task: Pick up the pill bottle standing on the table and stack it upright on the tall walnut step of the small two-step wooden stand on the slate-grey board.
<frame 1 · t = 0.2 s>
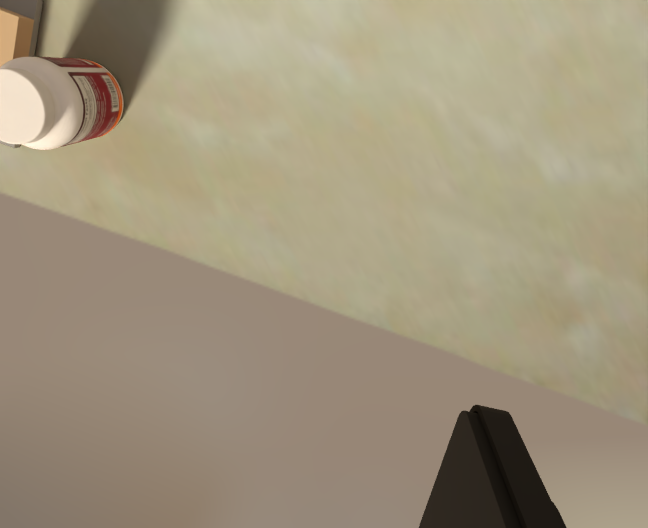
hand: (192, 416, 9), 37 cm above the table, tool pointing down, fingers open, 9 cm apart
pill bottle: (90, 99, 44), on the table
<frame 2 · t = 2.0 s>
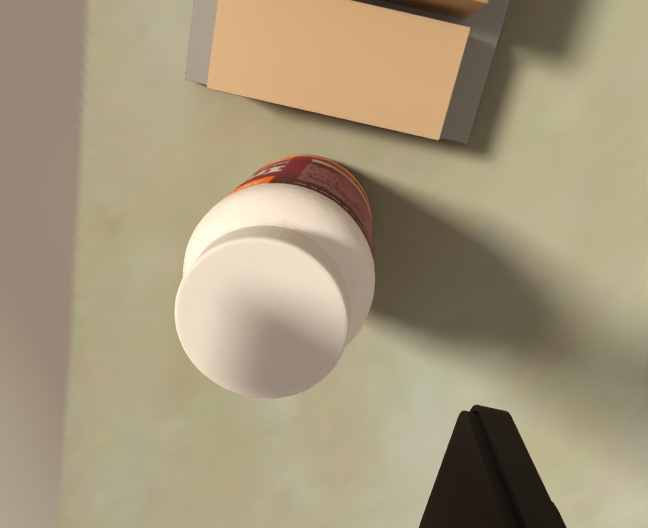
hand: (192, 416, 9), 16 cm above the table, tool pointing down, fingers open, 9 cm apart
pill bottle: (305, 219, 24), on the table
stand: (342, 36, 22), on the table
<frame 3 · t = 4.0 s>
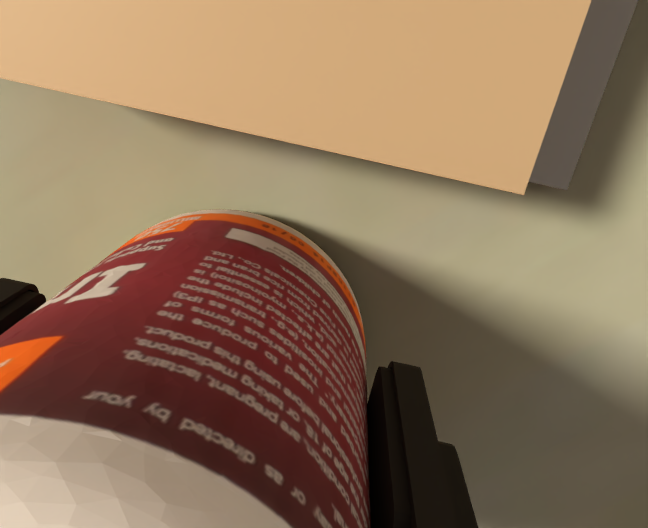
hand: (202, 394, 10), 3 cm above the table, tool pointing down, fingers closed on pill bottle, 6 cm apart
pill bottle: (234, 327, 13), on the table, touching gripper
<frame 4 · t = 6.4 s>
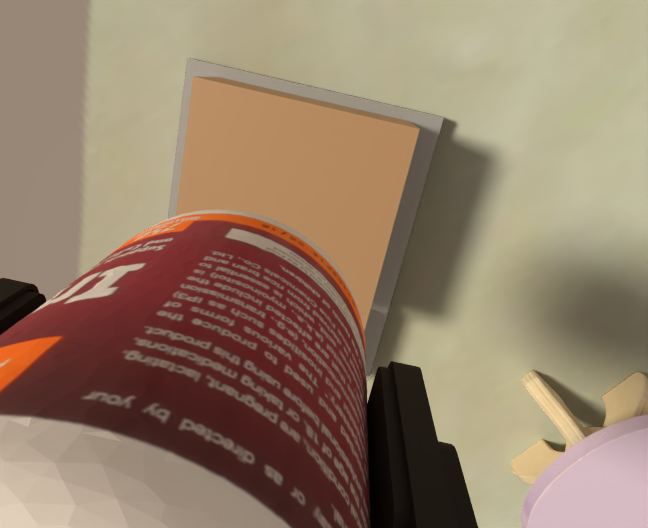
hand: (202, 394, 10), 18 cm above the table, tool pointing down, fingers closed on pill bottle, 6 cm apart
toy table: (570, 421, 30), on the table
pill bottle: (234, 327, 13), point 15 cm above the table, touching gripper
stand: (274, 297, 28), on the table
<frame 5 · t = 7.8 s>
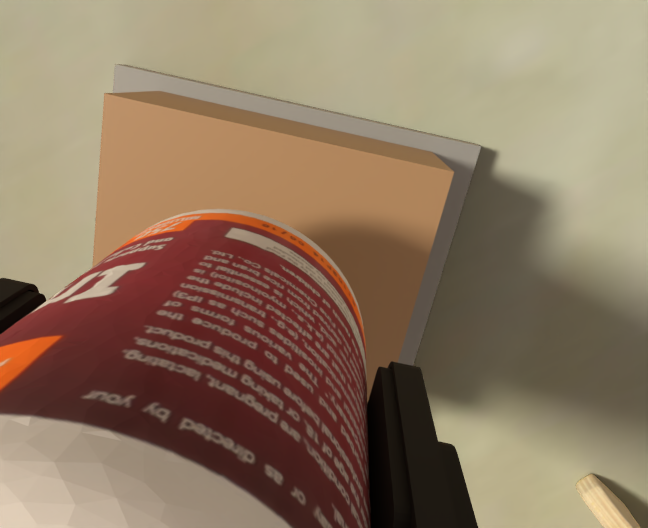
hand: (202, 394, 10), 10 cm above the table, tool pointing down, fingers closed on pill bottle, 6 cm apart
pill bottle: (234, 327, 13), point 7 cm above the table, touching gripper
stand: (248, 382, 21), on the table
when the fingers open (8 cm above the table, at t = 9.0 s): pill bottle stays where it is, resting on stand.
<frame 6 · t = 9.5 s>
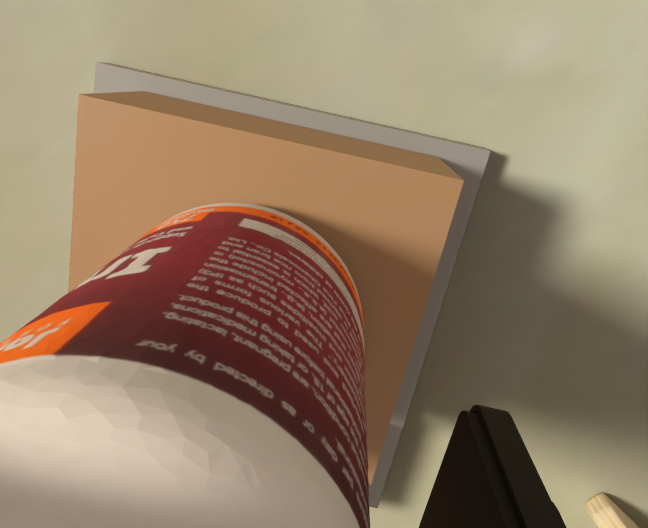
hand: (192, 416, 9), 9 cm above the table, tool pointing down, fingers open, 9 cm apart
pill bottle: (243, 312, 14), point 5 cm above the table, touching stand
stand: (242, 399, 20), on the table
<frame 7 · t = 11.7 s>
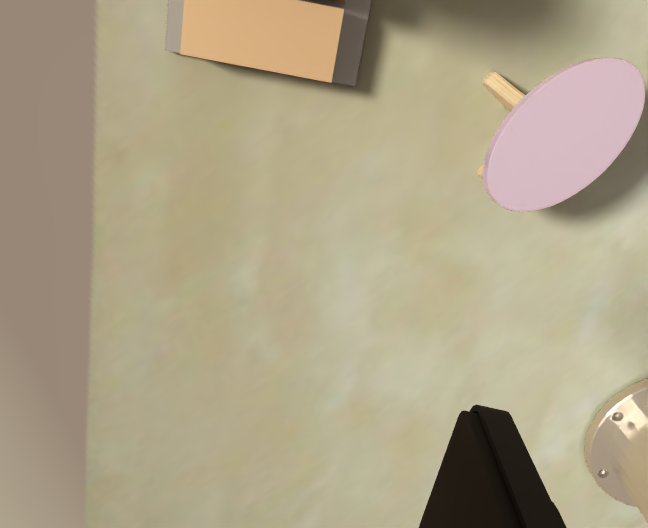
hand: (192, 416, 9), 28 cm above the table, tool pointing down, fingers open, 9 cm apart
toy table: (527, 126, 35), on the table
stand: (269, 17, 33), on the table
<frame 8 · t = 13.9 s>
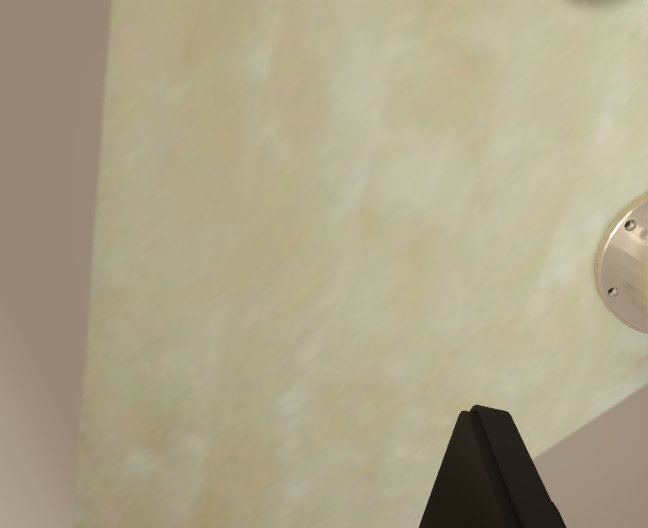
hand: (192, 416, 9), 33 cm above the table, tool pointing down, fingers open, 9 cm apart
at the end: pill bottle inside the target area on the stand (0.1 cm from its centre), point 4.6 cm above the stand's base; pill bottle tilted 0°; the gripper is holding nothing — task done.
